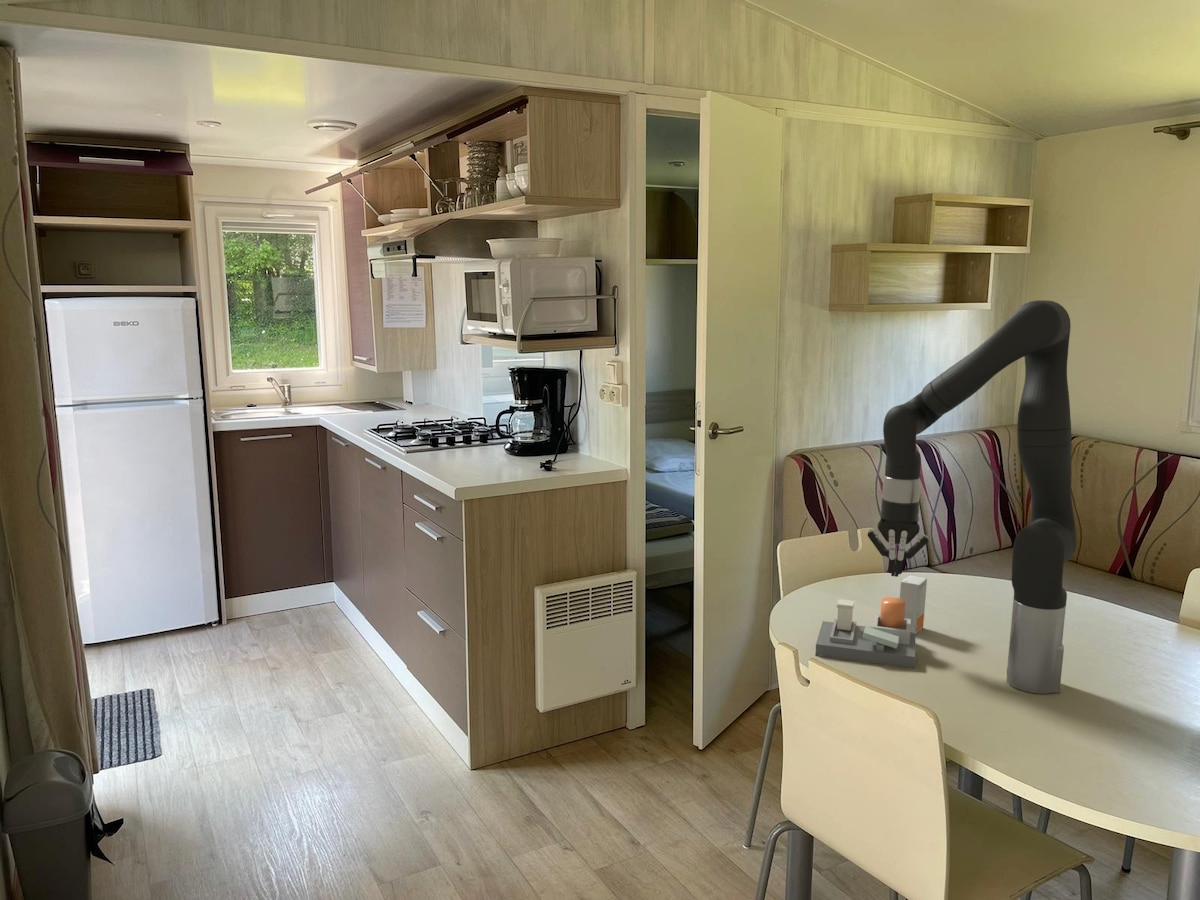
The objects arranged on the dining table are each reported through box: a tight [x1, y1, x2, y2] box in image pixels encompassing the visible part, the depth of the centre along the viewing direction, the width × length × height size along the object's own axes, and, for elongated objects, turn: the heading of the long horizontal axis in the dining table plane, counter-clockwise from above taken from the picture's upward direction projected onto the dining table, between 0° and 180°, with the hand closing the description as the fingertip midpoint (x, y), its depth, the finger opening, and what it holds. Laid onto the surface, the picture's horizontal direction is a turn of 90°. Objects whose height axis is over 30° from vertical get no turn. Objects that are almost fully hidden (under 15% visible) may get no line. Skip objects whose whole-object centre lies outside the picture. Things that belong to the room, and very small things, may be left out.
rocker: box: [863, 625, 899, 649], centre depth 189 cm, size 7×4×1 cm, turn 71°
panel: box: [815, 614, 917, 669], centre depth 194 cm, size 20×14×6 cm
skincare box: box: [899, 575, 928, 634], centre depth 204 cm, size 6×4×12 cm
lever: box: [836, 598, 855, 631], centre depth 198 cm, size 3×3×6 cm
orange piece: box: [880, 596, 906, 627], centre depth 194 cm, size 5×5×5 cm
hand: (894, 575), depth 192 cm, fingers closed
